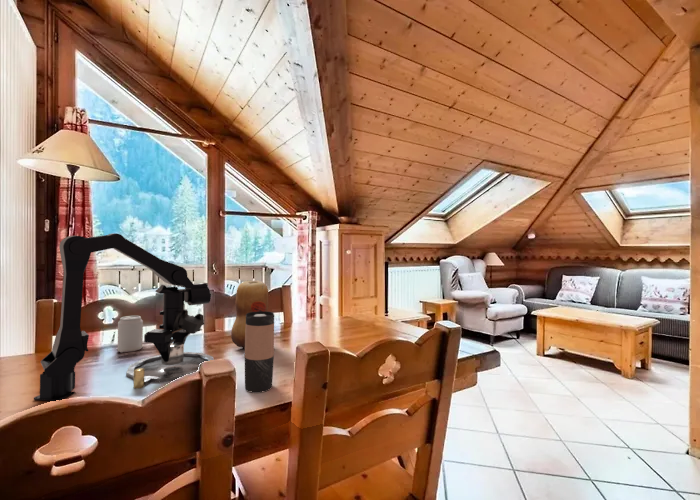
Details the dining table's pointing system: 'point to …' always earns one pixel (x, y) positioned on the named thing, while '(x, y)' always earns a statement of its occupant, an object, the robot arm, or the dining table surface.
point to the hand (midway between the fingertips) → (172, 358)
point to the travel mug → (259, 351)
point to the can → (130, 333)
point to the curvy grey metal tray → (164, 369)
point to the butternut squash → (248, 307)
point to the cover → (175, 354)
